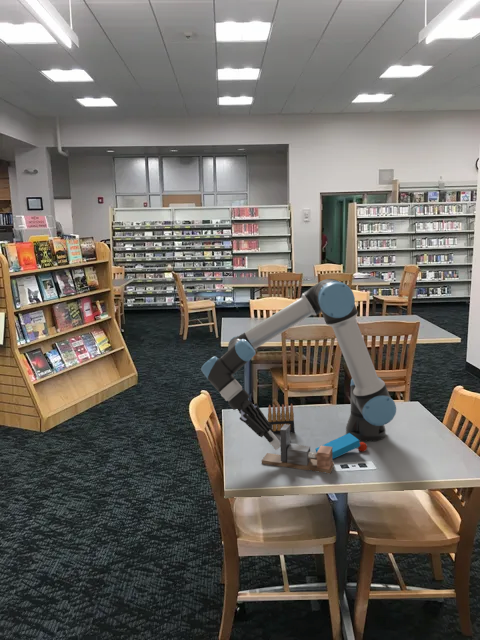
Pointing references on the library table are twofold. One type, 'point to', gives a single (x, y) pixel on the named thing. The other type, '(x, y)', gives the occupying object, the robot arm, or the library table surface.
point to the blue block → (345, 445)
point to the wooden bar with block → (303, 459)
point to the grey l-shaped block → (286, 443)
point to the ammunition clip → (281, 418)
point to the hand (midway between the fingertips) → (279, 447)
